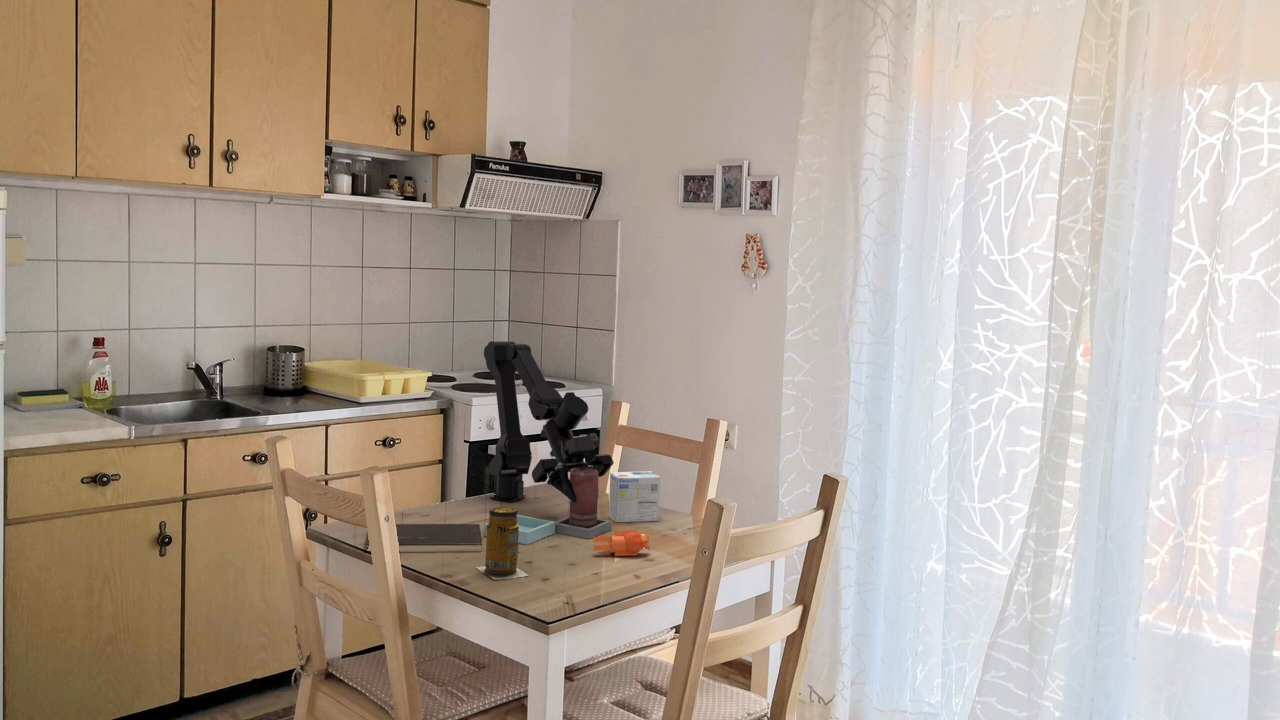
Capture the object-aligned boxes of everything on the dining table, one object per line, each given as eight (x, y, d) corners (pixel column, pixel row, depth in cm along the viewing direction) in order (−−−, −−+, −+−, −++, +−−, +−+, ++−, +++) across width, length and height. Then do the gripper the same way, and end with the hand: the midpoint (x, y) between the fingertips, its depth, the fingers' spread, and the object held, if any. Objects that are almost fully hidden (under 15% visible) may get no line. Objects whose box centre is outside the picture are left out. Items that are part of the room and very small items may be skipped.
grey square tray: (551, 531, 225) (552, 523, 225) (574, 523, 234) (574, 514, 233) (589, 539, 221) (589, 530, 221) (610, 529, 229) (611, 521, 229)
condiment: (510, 564, 200) (512, 504, 199) (529, 576, 193) (531, 514, 192) (475, 568, 196) (477, 507, 195) (493, 581, 189) (495, 517, 188)
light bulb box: (649, 514, 245) (652, 470, 244) (659, 521, 239) (661, 476, 238) (607, 515, 242) (609, 471, 241) (615, 523, 236) (617, 477, 235)
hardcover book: (481, 554, 207) (482, 543, 207) (364, 555, 203) (365, 544, 203) (478, 533, 223) (479, 523, 223) (369, 533, 219) (370, 523, 218)
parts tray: (484, 536, 219) (484, 524, 219) (513, 525, 229) (513, 514, 228) (527, 544, 214) (527, 532, 214) (555, 533, 224) (555, 521, 224)
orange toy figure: (596, 530, 206) (653, 529, 209) (589, 532, 214) (644, 531, 216) (596, 555, 205) (654, 554, 208) (589, 557, 212) (645, 556, 215)
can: (564, 527, 229) (565, 466, 227) (590, 525, 231) (592, 464, 230) (573, 535, 223) (575, 472, 222) (600, 532, 226) (602, 470, 224)
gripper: (540, 423, 222) (564, 483, 215) (611, 419, 233) (636, 476, 226) (521, 452, 230) (543, 511, 222) (590, 446, 241) (614, 503, 233)
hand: (586, 500), depth 225 cm, fingers closed on can, 5 cm apart
